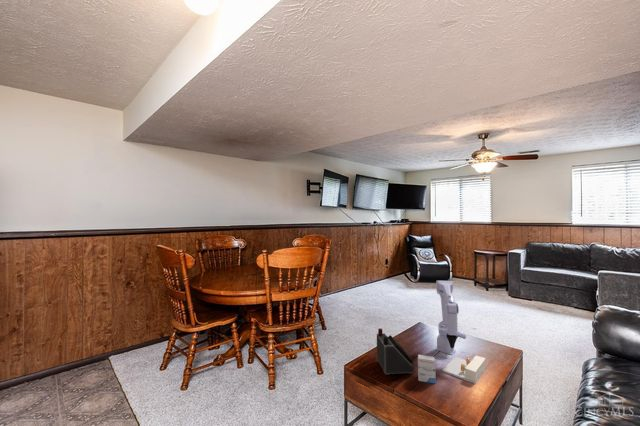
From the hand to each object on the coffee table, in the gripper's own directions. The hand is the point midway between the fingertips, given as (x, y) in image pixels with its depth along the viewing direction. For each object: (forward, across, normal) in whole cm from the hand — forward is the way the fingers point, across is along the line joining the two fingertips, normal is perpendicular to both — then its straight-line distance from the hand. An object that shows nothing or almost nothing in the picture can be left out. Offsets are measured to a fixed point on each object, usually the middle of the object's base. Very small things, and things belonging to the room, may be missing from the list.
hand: (452, 347), depth 163 cm
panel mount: (+9, +7, -2) cm, 12 cm away
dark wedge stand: (+10, -22, -27) cm, 36 cm away
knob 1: (+8, +9, -7) cm, 14 cm away
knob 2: (+8, +9, +2) cm, 12 cm away
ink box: (+10, -4, -26) cm, 28 cm away
